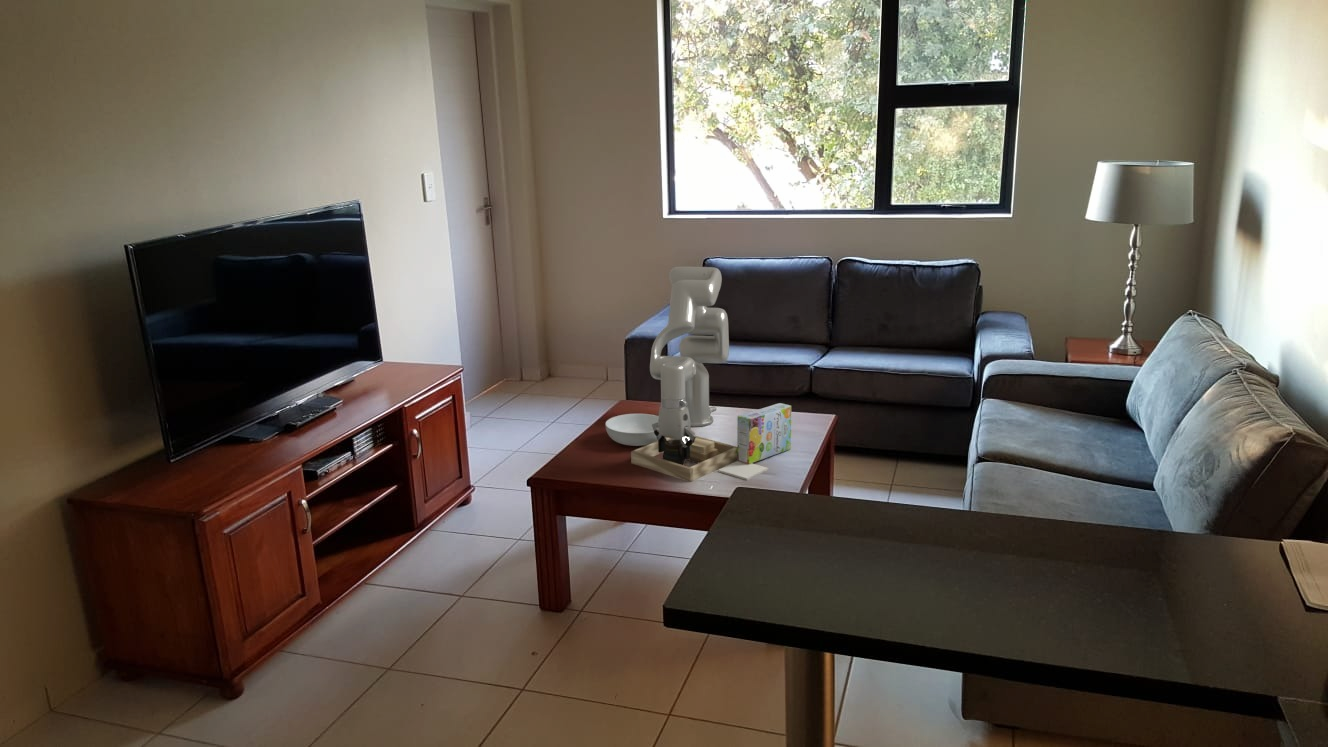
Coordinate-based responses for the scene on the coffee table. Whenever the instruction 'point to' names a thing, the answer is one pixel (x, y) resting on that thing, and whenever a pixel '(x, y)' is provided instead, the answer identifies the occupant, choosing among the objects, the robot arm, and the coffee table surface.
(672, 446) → the mate gourd
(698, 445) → the slat pine
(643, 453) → the tray
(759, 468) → the mat
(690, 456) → the slat walnut
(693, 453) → the slat oak
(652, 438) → the serving bowl
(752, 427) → the snack box
